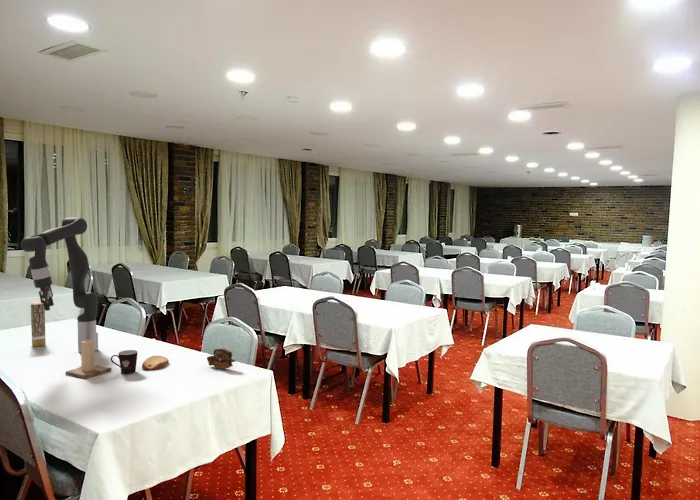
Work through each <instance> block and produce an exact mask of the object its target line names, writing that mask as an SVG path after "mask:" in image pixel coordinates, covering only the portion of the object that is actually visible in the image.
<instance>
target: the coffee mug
mask: <svg viewBox="0 0 700 500" xmlns="http://www.w3.org/2000/svg"><path fill="white" fill-rule="evenodd" d="M138 353H139V351H138V350H135V349H128V350H126V349H125V350H121V351H119V352H118V354H113V355H112V356H111V357H110V361H111V363H113V364H114V365H115V366H117V367H119V368H120V373H121V375H132V374H135V373H136V372H137V362H138ZM113 357H117V358H118V360H119V364H117V363H116V362H115V361H114V360H113Z"/></svg>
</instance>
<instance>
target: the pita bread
mask: <svg viewBox="0 0 700 500" xmlns="http://www.w3.org/2000/svg"><path fill="white" fill-rule="evenodd" d="M168 365H169V359H168V358H167V357H166V356H162V355H152V356H150V357H148V358H146V359H145V360H144V361H143V363H142V365H141V368H142V369H143V370H144V371H146V372H151V371H157V370H159V369H164V368H166V367H167V366H168Z"/></svg>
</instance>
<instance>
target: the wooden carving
mask: <svg viewBox="0 0 700 500" xmlns="http://www.w3.org/2000/svg"><path fill="white" fill-rule="evenodd" d="M232 352H233V351H230V350H228V349H226V348H215V349H214V350H213V355H210V356H207V357H206V360H207V362H208V366H211V367H212V366H213V367H215V368H216V369H219V370H224V369H229V368H232V367H233V366H234V365H233V363H235V362H236V359H233V358H232V356H233V353H232Z"/></svg>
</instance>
